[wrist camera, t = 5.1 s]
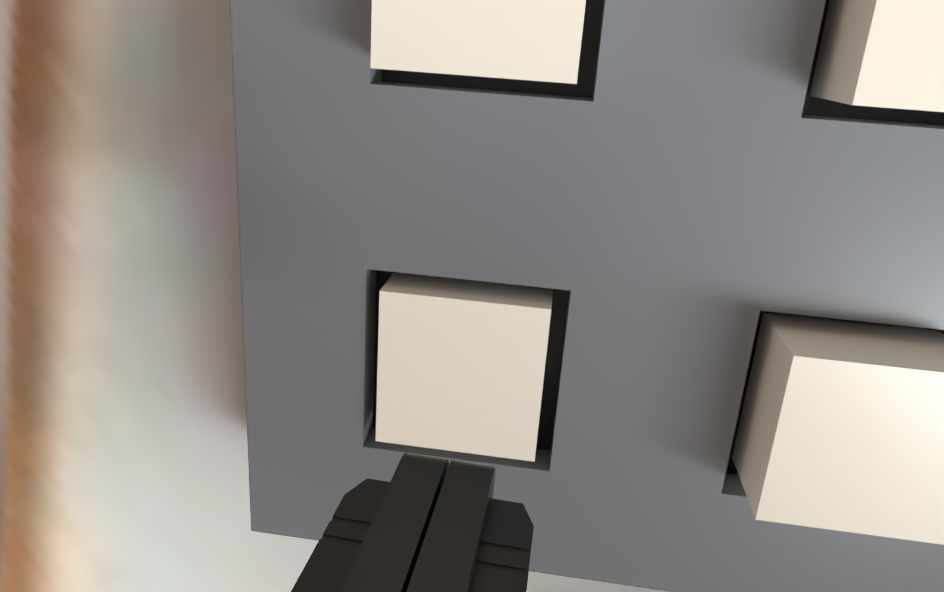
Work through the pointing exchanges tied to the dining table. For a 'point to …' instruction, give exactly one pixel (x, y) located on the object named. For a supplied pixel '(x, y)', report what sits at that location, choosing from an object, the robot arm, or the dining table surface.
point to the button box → (580, 268)
